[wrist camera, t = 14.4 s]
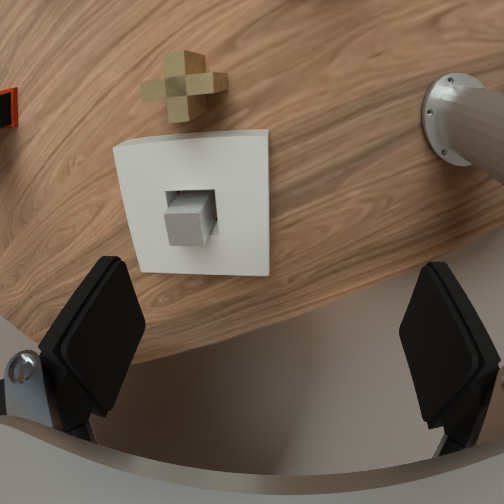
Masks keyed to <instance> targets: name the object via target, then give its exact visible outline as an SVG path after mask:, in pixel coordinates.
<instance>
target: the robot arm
mask: <svg viewBox="0 0 504 504" xmlns="http://www.w3.org/2000/svg"><path fill="white" fill-rule="evenodd" d="M448 79H449V81H448ZM428 110H429V113H428ZM422 124H423V129H424V133H425V136H426V138H427V141H428V142H429V144H430V146H431V148H432V149H433V150H434V151H435V153H436V154H437V155H438V156H440V157H441V158H442V159H443V160H445V161H447V162H448V163H450V164H453V165H456V166H470V165H474V166H476V167H477V168H479V169H480V170H482V171H483V172H485V173H486V174H488V175H489V176H491V177H492V178H494V179H495V180H497V181H498V182H499V183H501V184H502V185H504V94H503V93H499V92H495V91H490V90H487V89H486V88H485V86H484V85H483V84H482V83H481V82H480V81H478V80H477V79H476V78H474V77H472V76H470V75H468V74H463V73H448V74H445V75H443V76H440V77H439V78H438V79H436V80H435V81H434V82H433V83H432V85H431V86H430V87H429V89H428V91H427V93H426V95H425V98H424V101H423V107H422ZM441 151H442V152H441ZM144 330H145V319H144V316H143V314H142V311H141V308H140V305H139V302H138V300H137V297H136V294H135V291H134V288H133V285H132V282H131V279H130V276H129V273H128V270H127V267H126V264H125V262H124V261H121V259H120V258H119V257H118V256H102V257H101V258H100V259H99V260H98V261H97V263H96V264H95V265H94V267H93V268H92V269H91V270H90V272H89V273H88V274H87V276H86V277H85V278H84V280H83V281H82V282H81V284H80V285H79V287H78V288H77V289H76V291H75V292H74V293H73V295H72V296H71V298H70V299H69V300H68V302H67V303H66V305H65V306H64V308H63V309H62V311H61V312H60V313H59V315H58V316H57V318H56V319H55V321H54V322H53V324H52V325H51V327H50V328H49V330H48V332H47V333H46V335H45V336H44V338H43V339H42V341H41V343H40V344H39V346H38V347H39V349H40V350H41V353H40V355H38V354H37V353H36V352H35V351H32V350H24V351H20V352H19V353H17V354H15V355H14V356H13V357H12V358H11V359H10V361H9V362H8V363H7V366H6V368H5V373H4V379H2V380H0V504H504V366H502V367H501V369H500V368H499V366H498V363H499V362H500V361H501V359H500V357H499V355H498V353H497V350H496V349H495V346H494V344H493V342H492V340H491V338H490V337H489V335H488V333H487V331H486V329H485V327H484V325H483V323H482V321H481V320H480V318H479V316H478V314H477V312H476V311H475V309H474V307H473V305H472V304H471V302H470V300H469V299H468V297H467V295H466V294H465V292H464V290H463V289H462V287H461V286H460V284H459V282H458V281H457V280H456V278H455V276H454V275H453V273H452V271H451V270H450V269H449V267H448V265H447V264H446V263H445V262H428V263H427V264H426V266H424V267H422V269H421V271H420V274H419V277H418V280H417V283H416V286H415V289H414V291H413V294H412V297H411V300H410V302H409V305H408V308H407V310H406V313H405V315H404V318H403V321H402V323H401V325H400V329H399V336H400V339H401V342H402V346H403V349H404V352H405V355H406V358H407V362H408V365H409V369H410V372H411V376H412V379H413V383H414V386H415V390H416V394H417V398H418V402H419V406H420V410H421V414H422V418H423V420H424V421H425V422H427V424H428V428H429V429H433V428H438V427H441V426H443V427H444V431H445V433H444V436H443V437H442V439H441V441H440V444H439V445H438V447H437V449H436V451H435V453H434V455H433V457H432V458H431V459H427V460H423V461H418V462H413V463H409V464H404V465H399V466H393V467H388V468H381V469H375V470H368V471H360V472H352V473H340V474H326V475H305V476H303V475H301V476H278V475H277V476H276V475H274V476H273V475H253V474H239V473H228V472H219V471H210V470H204V469H197V468H190V467H184V466H179V465H173V464H168V463H164V462H159V461H154V460H150V459H146V458H142V457H138V456H134V455H130V454H127V453H123V452H120V451H116V450H113V449H110V448H107V447H103V446H101V445H98V443H97V440H96V438H95V435H94V432H93V430H92V427H91V424H90V421H89V417H90V414H91V413H92V414H94V415H98V416H101V417H104V418H105V417H106V415H107V413H108V411H110V410H111V409H112V408H113V407H114V404H115V401H116V399H117V396H118V393H119V391H120V388H121V386H122V383H123V381H124V378H125V376H126V373H127V371H128V368H129V366H130V364H131V361H132V359H133V356H134V354H135V352H136V349H137V347H138V344H139V342H140V340H141V337H142V335H143V333H144Z"/></svg>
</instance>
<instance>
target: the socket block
mask: <svg viewBox="0 0 504 504" xmlns="http://www.w3.org/2000/svg"><path fill="white" fill-rule="evenodd" d="M113 152H114V158H115V163H116V169H117V174H118V179H119V184H120V189H121V193H122V198H123V203H124V207H125V211H126V216H127V220H128V224H129V228H130V232H131V236H132V240H133V243H134V247H135V251H136V255H137V258H138V262H139V265H140V269H141V272H155V273H180V274H209V275H244V276H269V269H270V173H269V130H226V131H208V132H193V133H181V134H170V135H161V136H152V137H144V138H136V139H129V140H126V141H124V142H122V143H120V144H119V145H117V146H115V147H113ZM210 189H215V197H216V208H217V218H218V220H214V222H213V225H212V227H211V230H210V232H209V235H208V237H207V240H206V242H205V245H204V246H170V244H169V240H168V235H167V230H166V225H165V220H164V212H165V211H166V210H167V208H168V207H169V206H170V204H171V203H172V202H173V200H174V199H175V198H176V197H177V195H178V194H177V191H179V190H210Z"/></svg>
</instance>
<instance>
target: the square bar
mask: <svg viewBox="0 0 504 504" xmlns="http://www.w3.org/2000/svg"><path fill="white" fill-rule="evenodd" d="M216 215H217V208H216V198H215V189H210V190H181V191H180V193H179V194H178V195H177V197H176V198H175V199H174V200H173V202H172V203H171V204H170V206H169V207H168V208H167V210H166V211H165V212H164V220H165V225H166V230H167V235H168V240H169V244H170V246H204V245H205V242H206V240H207V237H208V235H209V232H210V230H211V227H212V225H213V222H214V220H215V218H216Z"/></svg>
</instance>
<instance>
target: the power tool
mask: <svg viewBox="0 0 504 504" xmlns="http://www.w3.org/2000/svg"><path fill="white" fill-rule="evenodd" d="M15 126H18V107H17V87H16V88H11V89H7V90H3V91H0V129H1V128H10V127H15Z"/></svg>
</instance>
